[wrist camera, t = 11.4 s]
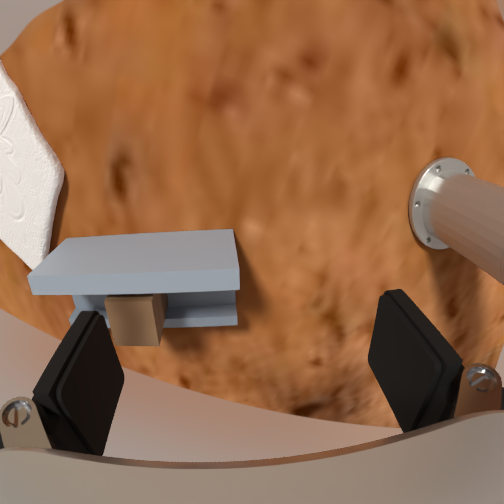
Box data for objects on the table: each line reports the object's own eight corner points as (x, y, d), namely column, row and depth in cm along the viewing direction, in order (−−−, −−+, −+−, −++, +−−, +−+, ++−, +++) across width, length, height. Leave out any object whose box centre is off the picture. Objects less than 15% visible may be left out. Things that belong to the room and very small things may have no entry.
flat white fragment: (-58, 176, 29) (46, 274, 36) (-73, 182, 26) (34, 286, 33) (-7, 43, 23) (121, 133, 30) (-23, 41, 20) (108, 135, 27)
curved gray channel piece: (232, 228, 35) (239, 268, 26) (234, 303, 39) (241, 357, 30) (66, 238, 34) (27, 276, 24) (83, 307, 37) (55, 356, 28)
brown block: (163, 262, 34) (151, 301, 27) (169, 307, 36) (160, 351, 29) (124, 263, 33) (103, 301, 26) (132, 307, 36) (116, 350, 28)
